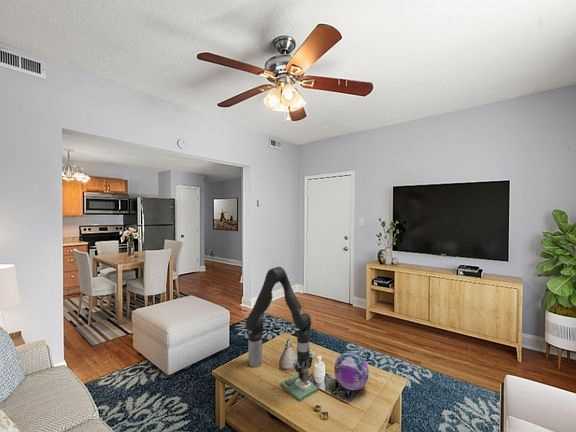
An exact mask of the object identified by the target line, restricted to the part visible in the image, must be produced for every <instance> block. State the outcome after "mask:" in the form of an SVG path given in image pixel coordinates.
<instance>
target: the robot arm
mask: <svg viewBox="0 0 576 432" xmlns="http://www.w3.org/2000/svg"><path fill="white" fill-rule="evenodd" d="M277 283H280V284H281V286H282V289H283V293H284V300H285V304H286V306H287V307H288V309H289V311H290V313H291V317H292V320H293V324H294V325H295V327H296V328H297V329H299V330H297V332H296V333H297V334H296V341H297V342H296V358H297V357H298V359H297V361H295V362H293V364H292V365H293V367H294V370H295V371H296V373H297V374H299V377H300V378H301V379H302V378H303V373H302V371H303V368H304V365H305V366H307V367H308V370H309V369H310V368H311V367H312V364H313V359H314V357H311V356H310V352H311V351H310V349H311V348H310V332H311V326H312V318H311V316H310V315H309V313H308V312H303V313H301V310H302V305H301V303H300V301H299V299H298V298H297V296H296V294H295V292H294V290H293V288H292V285H291V282H290V280H289V278H288V274H287V272H286V271H285V269H284V267H282V266H276V267H272V268H270V269H269V270H267V272H266V275H265V277H264V281H263V285H262V286H261V287H262V288H261V290H260V292H259V294H258V296H257V298H256V301H255V303H254V305H253V307H252V309H251V311H250V313H249V314H248V316H247V318H246V320H245V328H246V330H247V331H249V332H250V333H249V334H248V349H247V351H248V352H247V355H248V357H247V358H248V359H247V360H248V366H249V367H252V368H257V367H261V365H263V334H264V319H263V316H262V315H263V314H264V313H265V312H266V311H267V310H268V309H269V307H270V305H271V303H272V301H273V290H274V289H273V288H274V286H275V285H276V284H277ZM300 368H301V370H300Z"/></svg>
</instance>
